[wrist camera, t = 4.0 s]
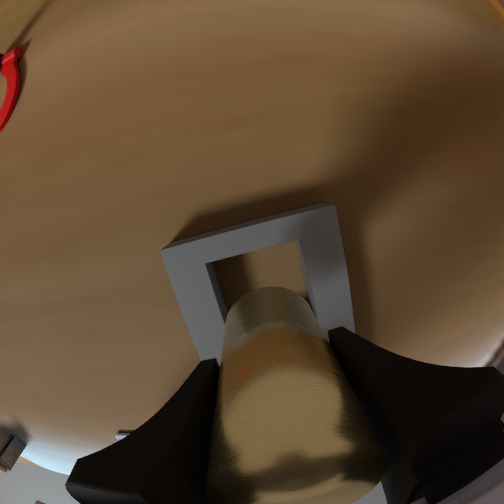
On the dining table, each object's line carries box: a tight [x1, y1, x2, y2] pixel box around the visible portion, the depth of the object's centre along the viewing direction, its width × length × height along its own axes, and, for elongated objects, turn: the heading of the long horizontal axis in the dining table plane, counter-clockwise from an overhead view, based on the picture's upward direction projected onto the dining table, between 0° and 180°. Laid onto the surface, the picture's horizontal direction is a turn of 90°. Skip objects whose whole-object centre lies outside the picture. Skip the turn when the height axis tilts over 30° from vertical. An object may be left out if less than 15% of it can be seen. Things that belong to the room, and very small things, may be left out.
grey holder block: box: [160, 203, 355, 367], centre depth 18 cm, size 15×11×6 cm
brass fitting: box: [206, 287, 388, 504], centre depth 9 cm, size 4×4×9 cm
